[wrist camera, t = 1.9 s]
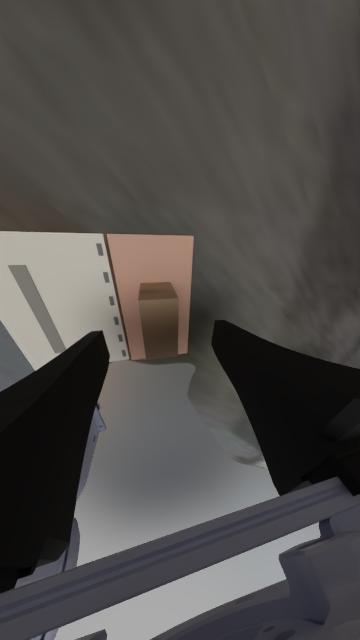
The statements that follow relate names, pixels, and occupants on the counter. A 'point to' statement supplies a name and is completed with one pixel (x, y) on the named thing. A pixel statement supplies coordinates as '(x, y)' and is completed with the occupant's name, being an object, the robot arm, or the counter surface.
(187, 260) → the stub
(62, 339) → the board
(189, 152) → the counter surface
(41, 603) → the robot arm
